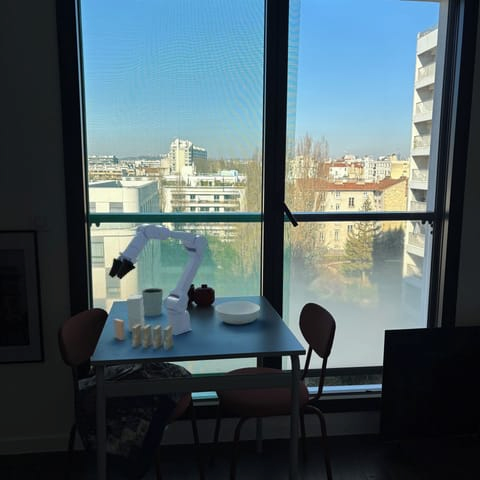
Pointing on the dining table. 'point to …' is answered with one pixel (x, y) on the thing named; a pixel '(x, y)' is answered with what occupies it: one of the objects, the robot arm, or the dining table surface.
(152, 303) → the grey green plant pot
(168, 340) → the domino
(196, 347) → the dining table surface
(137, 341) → the domino
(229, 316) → the serving bowl
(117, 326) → the end domino
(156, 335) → the domino
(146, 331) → the domino
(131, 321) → the skincare box
